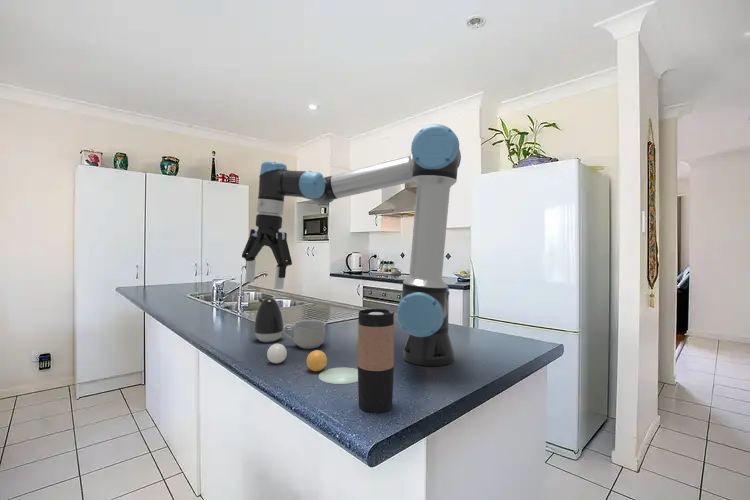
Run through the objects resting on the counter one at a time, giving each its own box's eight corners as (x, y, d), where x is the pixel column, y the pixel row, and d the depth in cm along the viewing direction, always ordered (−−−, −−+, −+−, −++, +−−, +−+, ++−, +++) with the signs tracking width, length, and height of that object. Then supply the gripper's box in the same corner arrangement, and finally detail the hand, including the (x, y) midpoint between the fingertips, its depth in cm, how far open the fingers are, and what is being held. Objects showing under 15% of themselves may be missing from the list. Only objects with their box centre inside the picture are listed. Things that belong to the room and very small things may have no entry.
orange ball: (330, 369, 102) (331, 349, 102) (319, 375, 97) (319, 354, 97) (314, 366, 105) (314, 346, 104) (302, 372, 100) (302, 351, 100)
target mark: (372, 372, 100) (372, 371, 100) (349, 387, 89) (349, 386, 89) (335, 365, 105) (335, 364, 105) (309, 379, 95) (309, 378, 95)
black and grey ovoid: (270, 335, 140) (271, 295, 139) (289, 339, 133) (289, 297, 133) (247, 341, 131) (247, 298, 131) (266, 345, 125) (266, 300, 125)
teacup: (328, 343, 130) (329, 320, 130) (321, 351, 119) (321, 326, 119) (289, 341, 131) (290, 318, 131) (279, 350, 120) (279, 325, 120)
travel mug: (351, 410, 77) (352, 313, 77) (365, 396, 84) (366, 307, 84) (386, 416, 74) (387, 316, 74) (398, 401, 81) (398, 310, 81)
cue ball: (290, 361, 108) (290, 342, 108) (277, 367, 104) (277, 347, 103) (276, 359, 111) (276, 340, 111) (262, 364, 106) (262, 344, 106)
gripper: (233, 211, 116) (228, 279, 116) (288, 215, 101) (281, 292, 102) (254, 214, 122) (248, 278, 122) (308, 218, 107) (301, 291, 108)
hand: (263, 285), depth 112 cm, fingers open, 13 cm apart
